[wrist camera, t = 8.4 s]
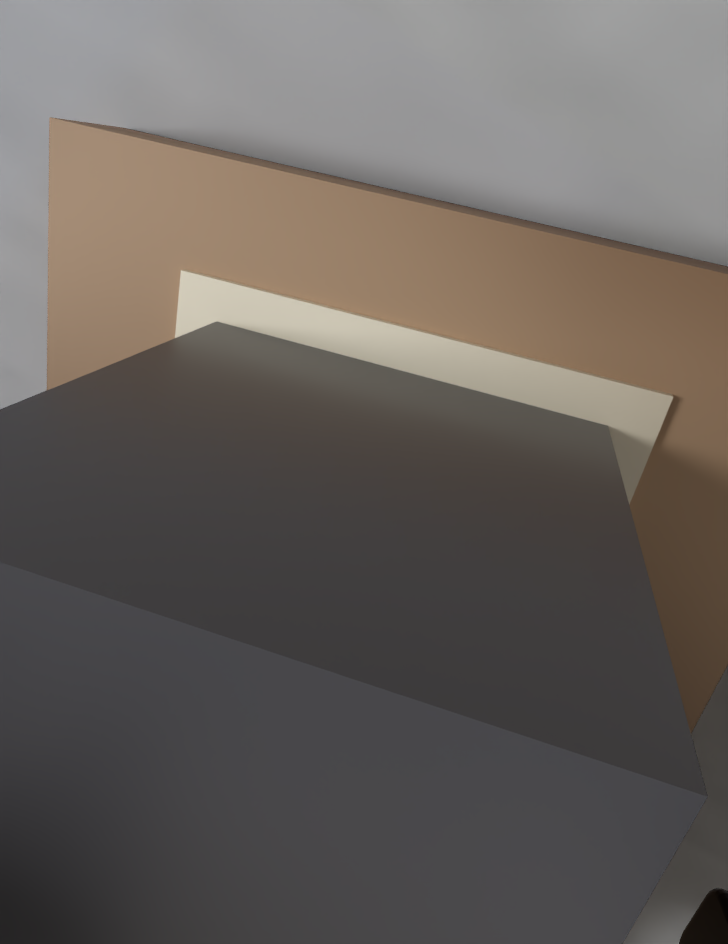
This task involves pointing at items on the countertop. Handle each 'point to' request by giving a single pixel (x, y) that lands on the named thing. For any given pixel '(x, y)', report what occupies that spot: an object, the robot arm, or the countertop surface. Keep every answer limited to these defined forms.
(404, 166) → the countertop surface
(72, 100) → the countertop surface
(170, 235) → the pin board
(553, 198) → the countertop surface
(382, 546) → the block
